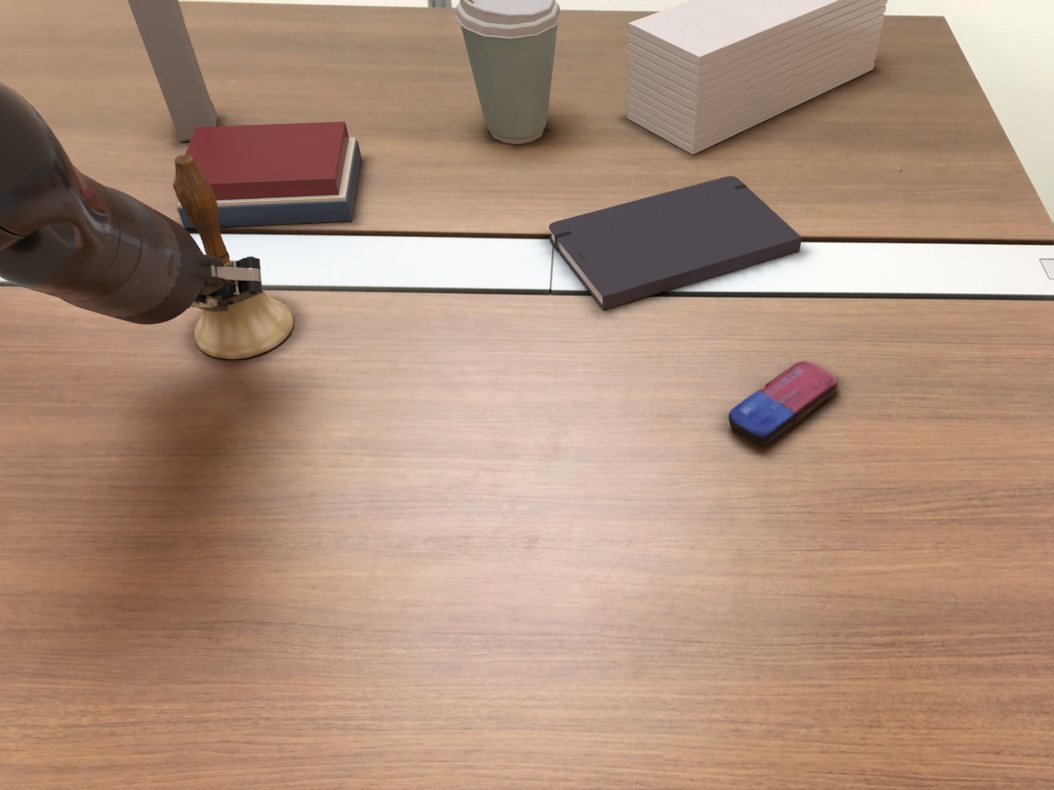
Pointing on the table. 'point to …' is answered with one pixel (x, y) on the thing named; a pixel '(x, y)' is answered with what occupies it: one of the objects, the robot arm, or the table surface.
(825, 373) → the eraser
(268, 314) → the hand bell
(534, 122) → the disposable coffee cup
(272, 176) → the book stack
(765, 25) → the stack of papers
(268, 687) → the table surface
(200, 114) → the tall grey plank
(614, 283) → the notebook
